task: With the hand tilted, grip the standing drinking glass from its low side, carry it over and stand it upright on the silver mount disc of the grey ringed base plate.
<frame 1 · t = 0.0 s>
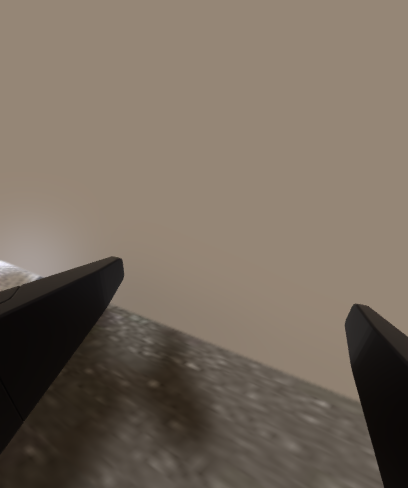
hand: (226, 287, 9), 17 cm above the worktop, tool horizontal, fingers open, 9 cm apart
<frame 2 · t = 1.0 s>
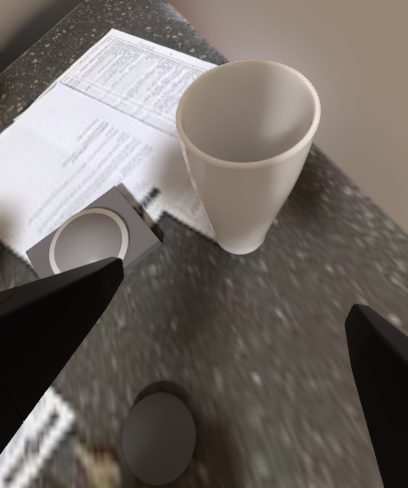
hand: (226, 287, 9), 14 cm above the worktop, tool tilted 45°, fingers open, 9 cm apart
lens cap: (160, 433, 20), on the worktop
grey ringed base plate: (96, 249, 26), on the worktop
drinking glass: (239, 232, 25), on the worktop
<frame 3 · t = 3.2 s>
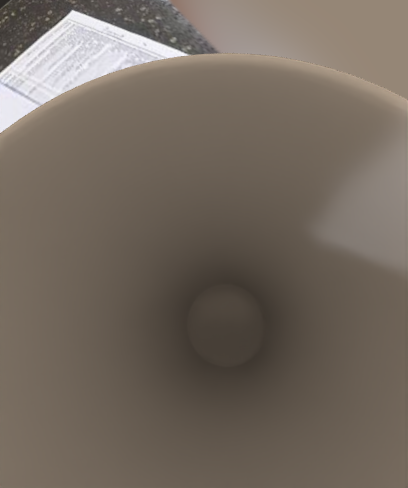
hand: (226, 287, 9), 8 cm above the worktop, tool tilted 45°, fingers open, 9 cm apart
drinking glass: (227, 323, 16), on the worktop, touching gripper
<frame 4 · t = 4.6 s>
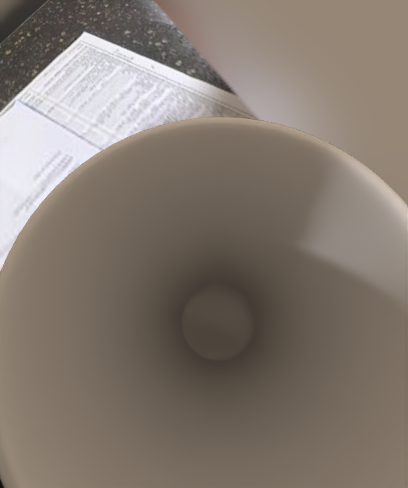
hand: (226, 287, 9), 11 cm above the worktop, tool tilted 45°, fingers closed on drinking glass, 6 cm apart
drinking glass: (217, 321, 18), point 2 cm above the worktop, touching gripper
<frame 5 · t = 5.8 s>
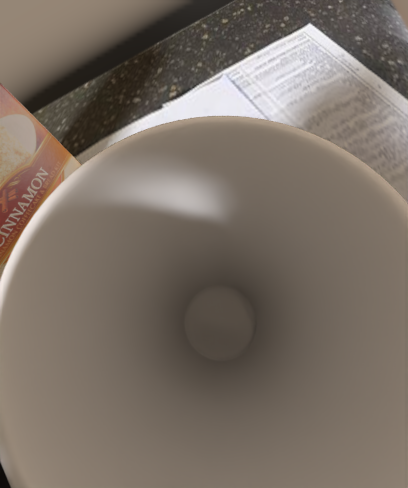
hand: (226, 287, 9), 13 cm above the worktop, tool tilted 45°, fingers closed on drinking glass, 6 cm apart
coffeecake box: (37, 217, 28), on the worktop
drinking glass: (220, 322, 18), point 4 cm above the worktop, touching gripper
when the fingers open (11 cm above the worktop, at t = 7.1 s): drinking glass stays where it is, resting on grey ringed base plate.
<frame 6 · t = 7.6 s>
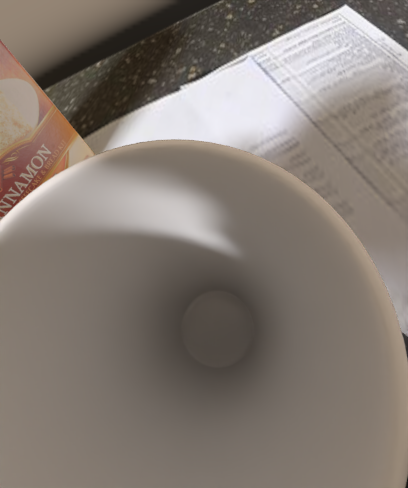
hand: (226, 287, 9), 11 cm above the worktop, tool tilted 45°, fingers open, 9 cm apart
coffeecake box: (38, 202, 25), on the worktop
drinking glass: (219, 327, 17), point 2 cm above the worktop, touching grey ringed base plate
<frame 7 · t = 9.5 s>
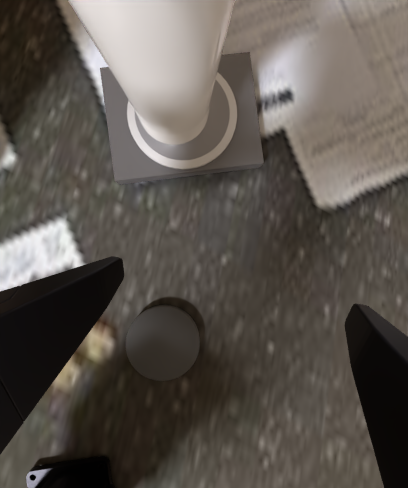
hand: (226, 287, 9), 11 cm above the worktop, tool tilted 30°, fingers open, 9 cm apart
lens cap: (164, 340, 20), on the worktop
grey ringed base plate: (183, 123, 20), on the worktop
drinking glass: (174, 115, 19), point 2 cm above the worktop, touching grey ringed base plate
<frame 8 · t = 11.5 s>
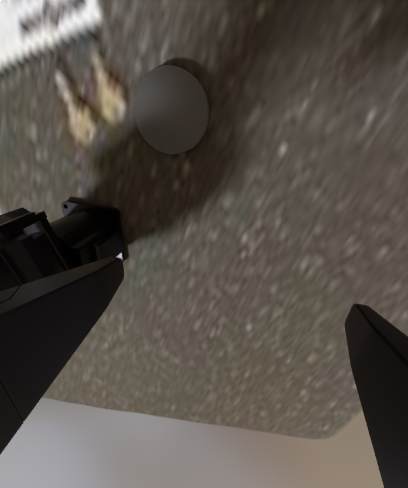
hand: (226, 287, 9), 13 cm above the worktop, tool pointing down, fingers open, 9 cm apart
lens cap: (173, 113, 19), on the worktop
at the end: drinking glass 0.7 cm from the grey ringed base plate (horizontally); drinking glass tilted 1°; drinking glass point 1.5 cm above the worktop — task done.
